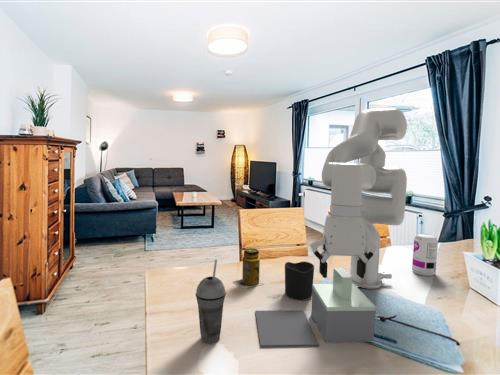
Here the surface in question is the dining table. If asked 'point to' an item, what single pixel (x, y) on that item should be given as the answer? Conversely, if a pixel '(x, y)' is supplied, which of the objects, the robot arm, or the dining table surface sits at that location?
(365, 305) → the green slab
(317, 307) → the tub
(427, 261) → the supplement can
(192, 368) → the dining table surface
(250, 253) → the condiment
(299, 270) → the pen holder
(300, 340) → the dark grey flat plate
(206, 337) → the beverage cup
